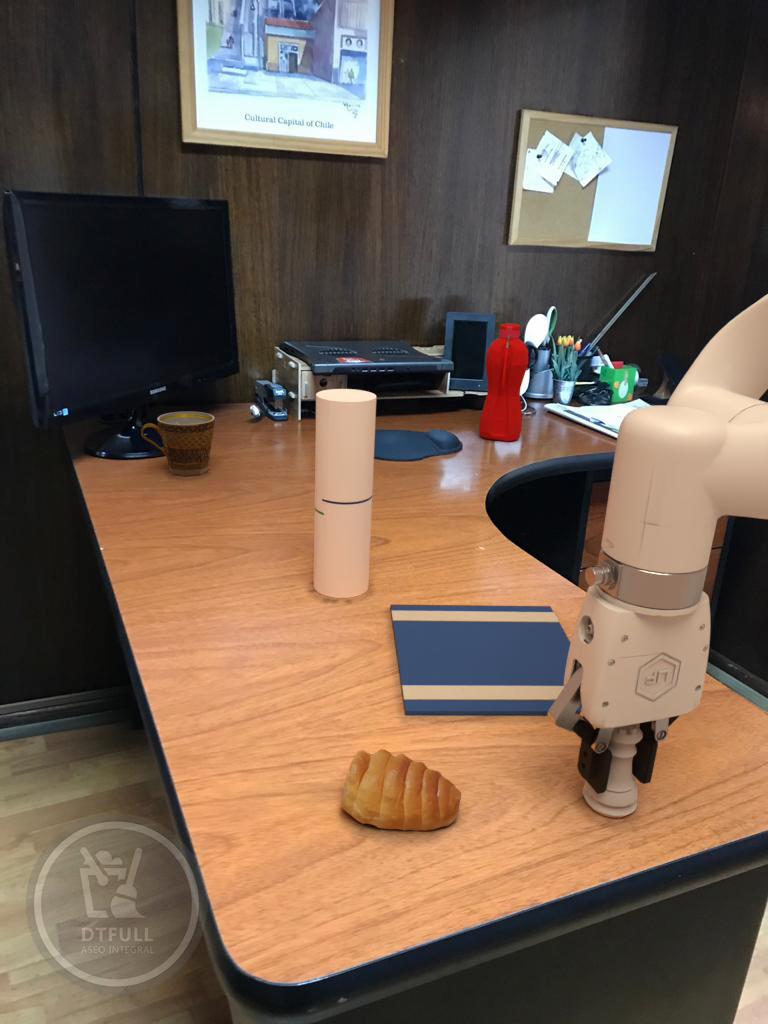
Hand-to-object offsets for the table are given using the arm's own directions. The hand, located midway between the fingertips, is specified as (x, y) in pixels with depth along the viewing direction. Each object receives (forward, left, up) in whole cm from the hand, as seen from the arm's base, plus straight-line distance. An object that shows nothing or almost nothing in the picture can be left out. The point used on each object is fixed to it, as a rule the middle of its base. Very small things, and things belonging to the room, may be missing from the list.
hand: (613, 775), depth 64 cm
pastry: (+18, 0, -3) cm, 18 cm away
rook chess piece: (0, 0, -3) cm, 3 cm away
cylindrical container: (+22, -40, -3) cm, 46 cm away
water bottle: (-14, -116, -3) cm, 117 cm away
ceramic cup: (+51, -86, -3) cm, 100 cm away
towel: (+6, -23, -3) cm, 24 cm away
